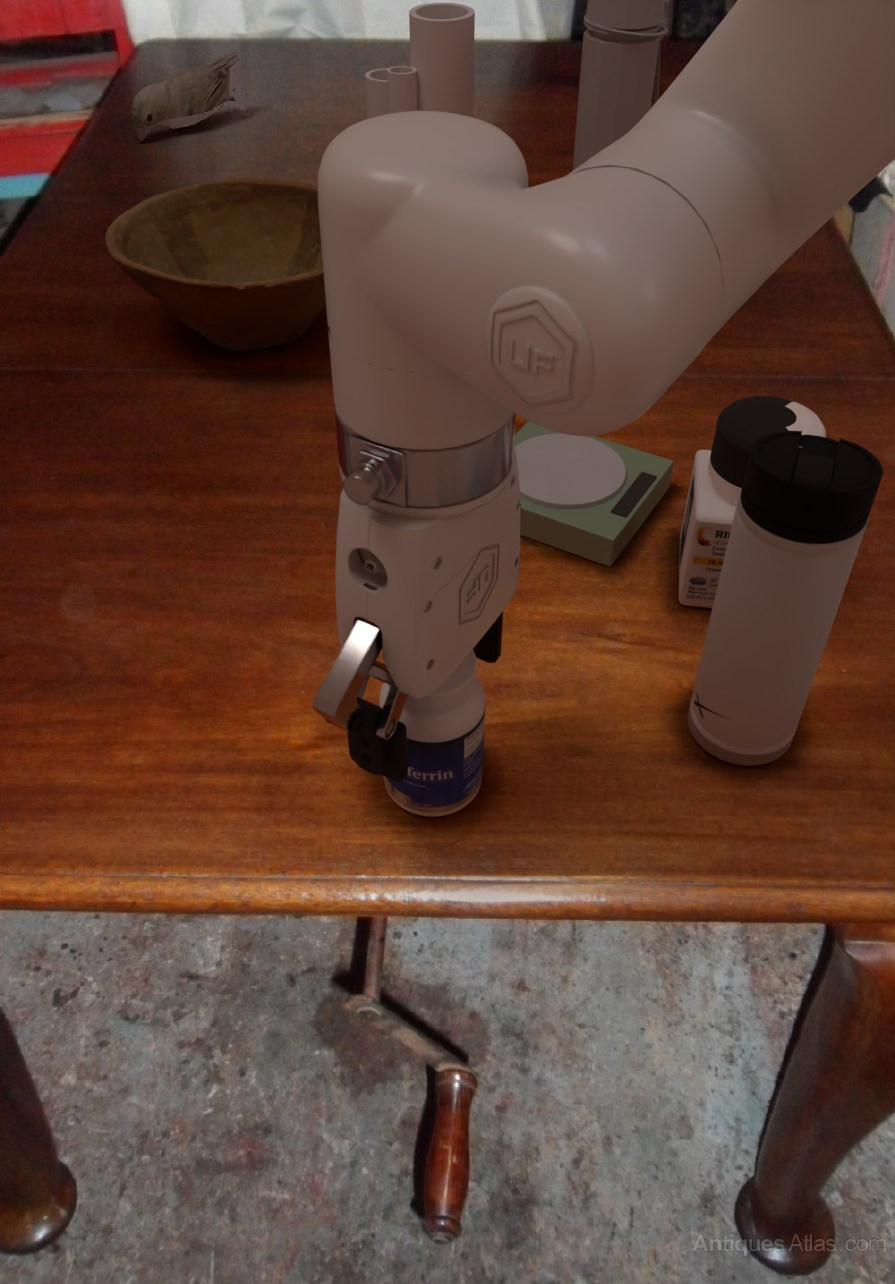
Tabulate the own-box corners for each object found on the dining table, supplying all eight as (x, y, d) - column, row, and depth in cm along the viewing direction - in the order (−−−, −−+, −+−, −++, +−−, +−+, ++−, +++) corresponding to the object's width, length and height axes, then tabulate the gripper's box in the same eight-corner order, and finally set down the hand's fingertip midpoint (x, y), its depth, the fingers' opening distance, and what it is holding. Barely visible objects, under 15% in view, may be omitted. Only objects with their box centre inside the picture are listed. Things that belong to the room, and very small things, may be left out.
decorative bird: (127, 137, 135) (114, 74, 130) (232, 108, 143) (224, 47, 138) (149, 149, 132) (137, 84, 127) (256, 119, 140) (248, 57, 135)
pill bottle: (367, 802, 60) (356, 682, 53) (406, 731, 64) (401, 610, 57) (461, 833, 59) (463, 713, 52) (496, 758, 62) (502, 637, 55)
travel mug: (676, 755, 63) (741, 475, 49) (697, 679, 67) (762, 403, 53) (784, 784, 61) (883, 504, 47) (798, 704, 65) (892, 426, 51)
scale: (669, 487, 82) (675, 456, 80) (610, 567, 75) (614, 535, 73) (530, 442, 86) (532, 411, 84) (462, 514, 79) (463, 483, 77)
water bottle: (589, 256, 110) (615, -21, 93) (553, 227, 115) (572, -40, 98) (664, 241, 113) (704, -31, 95) (626, 213, 118) (657, -50, 101)
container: (677, 607, 72) (710, 444, 63) (679, 536, 77) (709, 377, 68) (795, 619, 71) (845, 457, 62) (788, 547, 76) (833, 387, 67)
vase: (473, 204, 120) (476, 3, 106) (469, 230, 115) (472, 23, 101) (374, 201, 121) (364, 1, 107) (365, 227, 116) (354, 21, 102)
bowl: (240, 423, 88) (222, 311, 81) (83, 332, 99) (55, 226, 92) (422, 327, 100) (419, 222, 93) (263, 255, 111) (250, 156, 104)
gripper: (389, 584, 38) (401, 854, 50) (592, 370, 49) (562, 635, 61) (226, 518, 41) (274, 789, 53) (452, 329, 52) (449, 590, 64)
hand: (428, 707), depth 57 cm, fingers open, 9 cm apart
